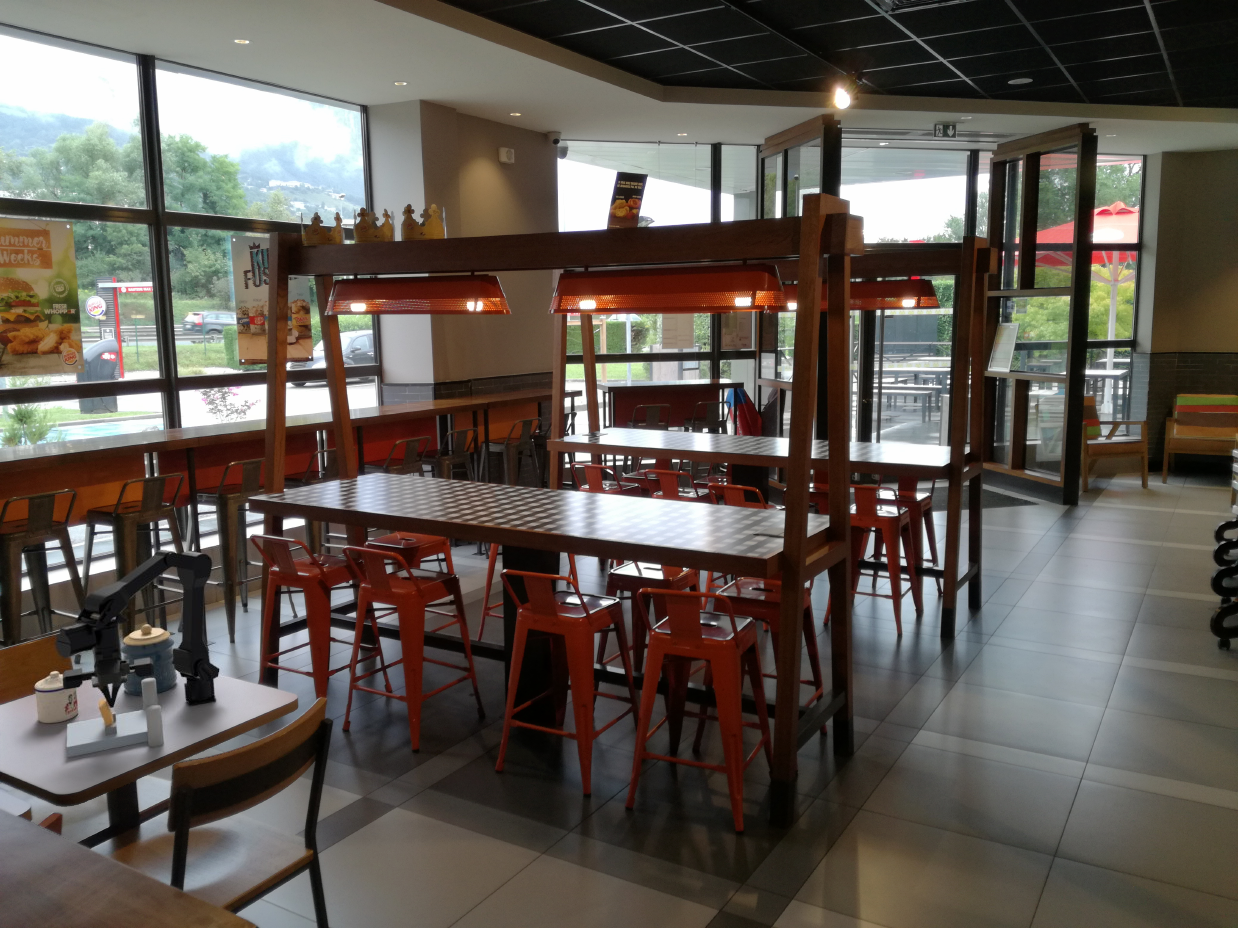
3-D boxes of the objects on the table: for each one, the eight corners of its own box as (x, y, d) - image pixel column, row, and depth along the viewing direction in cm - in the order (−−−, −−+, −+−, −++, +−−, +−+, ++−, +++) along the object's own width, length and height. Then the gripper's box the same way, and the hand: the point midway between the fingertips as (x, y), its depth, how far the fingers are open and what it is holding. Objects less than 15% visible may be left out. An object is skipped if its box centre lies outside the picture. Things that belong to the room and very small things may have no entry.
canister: (188, 681, 252) (183, 620, 249) (148, 699, 240) (143, 635, 237) (153, 674, 256) (148, 614, 253) (112, 692, 244) (107, 629, 241)
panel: (151, 717, 229) (150, 701, 228) (155, 739, 217) (154, 722, 216) (68, 733, 220) (66, 716, 219) (67, 757, 208) (65, 739, 207)
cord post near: (163, 739, 217) (160, 703, 215) (164, 744, 214) (161, 708, 212) (148, 742, 215) (145, 706, 214) (149, 748, 212) (145, 711, 211)
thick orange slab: (112, 715, 220) (106, 698, 219) (113, 722, 216) (106, 705, 214) (105, 718, 219) (98, 700, 218) (106, 725, 215) (99, 708, 214)
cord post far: (157, 710, 233) (155, 676, 231) (158, 714, 230) (156, 681, 229) (143, 712, 231) (141, 679, 230) (144, 717, 229) (141, 683, 227)
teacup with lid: (74, 721, 226) (69, 676, 224) (32, 726, 224) (27, 681, 222) (86, 702, 238) (82, 659, 236) (46, 706, 235) (42, 663, 233)
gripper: (59, 662, 203) (65, 728, 206) (153, 647, 213) (157, 711, 215) (60, 647, 213) (66, 710, 215) (150, 634, 222) (154, 694, 224)
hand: (111, 707), depth 217 cm, fingers closed
